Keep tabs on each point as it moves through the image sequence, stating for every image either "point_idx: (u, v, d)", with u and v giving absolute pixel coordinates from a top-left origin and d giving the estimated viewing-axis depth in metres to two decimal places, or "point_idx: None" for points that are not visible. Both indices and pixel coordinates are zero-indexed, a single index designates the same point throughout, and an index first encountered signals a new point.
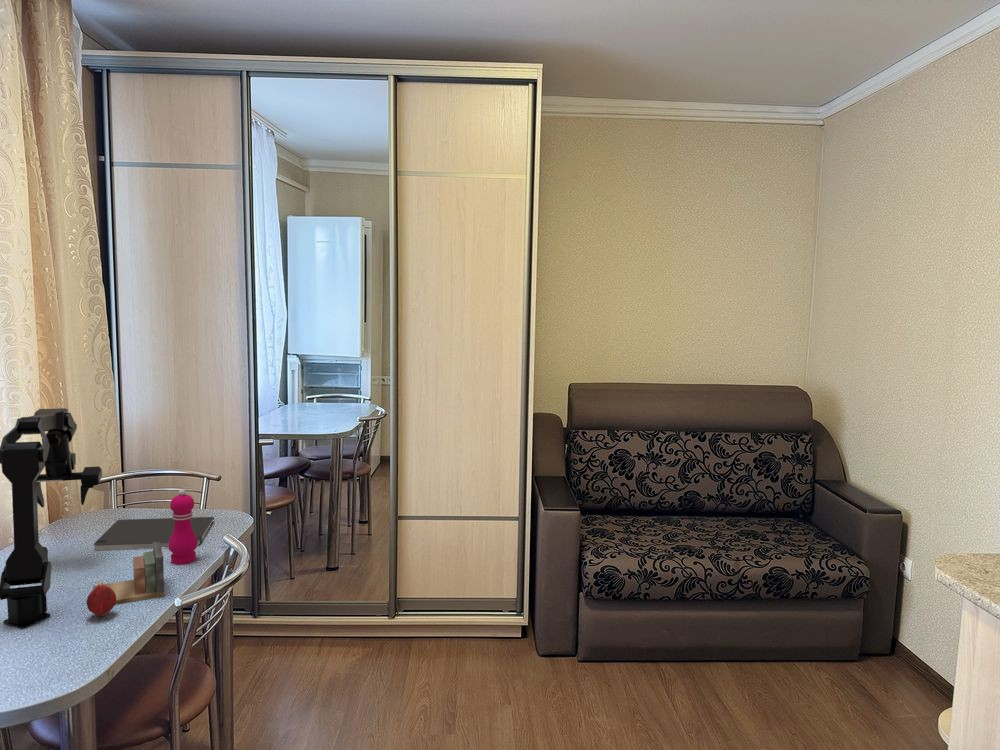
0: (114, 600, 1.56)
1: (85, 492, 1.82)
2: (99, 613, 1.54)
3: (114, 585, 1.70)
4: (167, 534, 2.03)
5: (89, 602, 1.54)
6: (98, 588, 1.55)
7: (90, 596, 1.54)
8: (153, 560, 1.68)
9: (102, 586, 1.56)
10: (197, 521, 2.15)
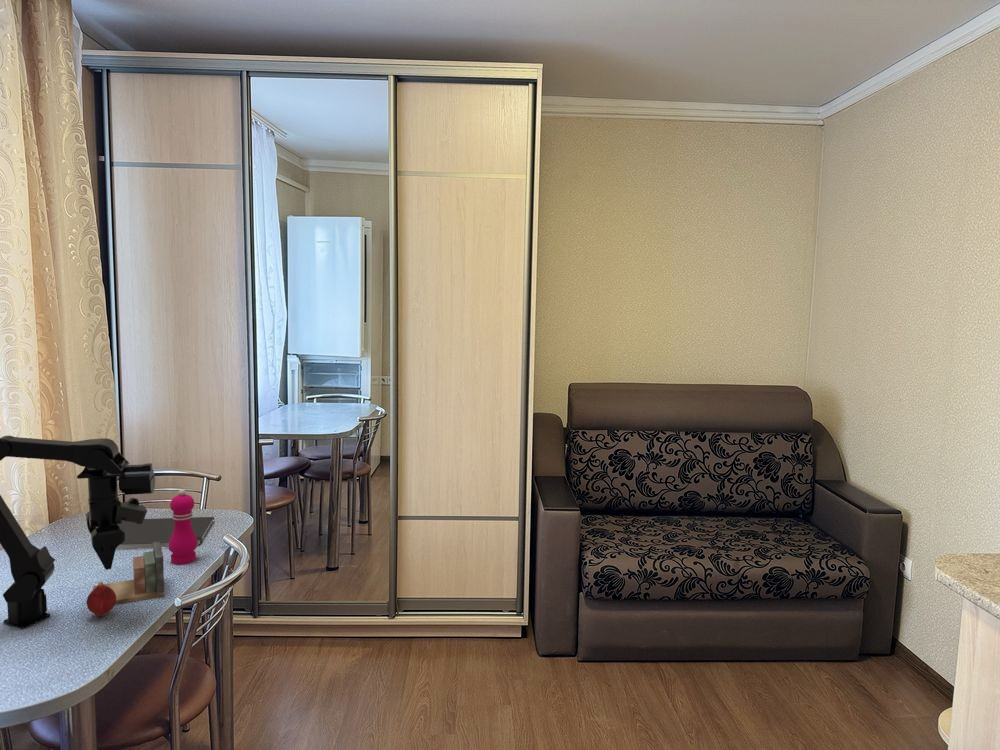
0: (114, 600, 1.56)
1: None
2: (99, 613, 1.54)
3: (114, 585, 1.70)
4: (167, 534, 2.03)
5: (89, 602, 1.54)
6: (98, 588, 1.55)
7: (90, 596, 1.54)
8: (153, 560, 1.68)
9: (102, 586, 1.56)
10: (198, 521, 2.15)
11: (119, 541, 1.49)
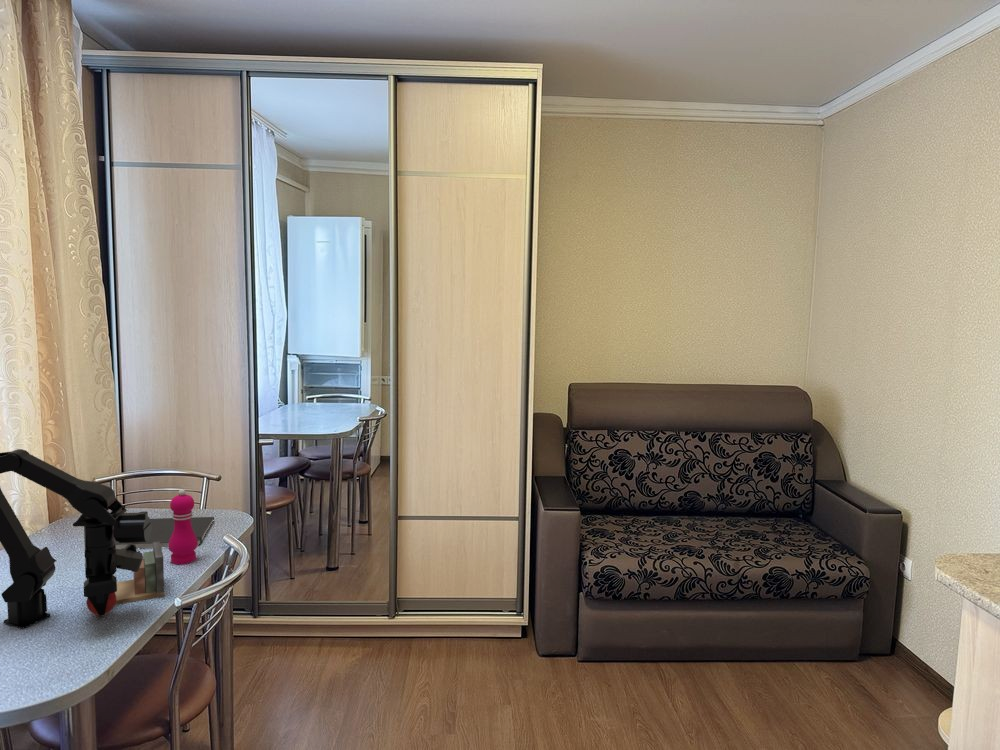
0: (114, 600, 1.56)
1: None
2: None
3: None
4: (167, 534, 2.03)
5: (89, 602, 1.54)
6: None
7: None
8: (153, 560, 1.68)
9: None
10: (198, 521, 2.15)
11: (111, 592, 1.49)
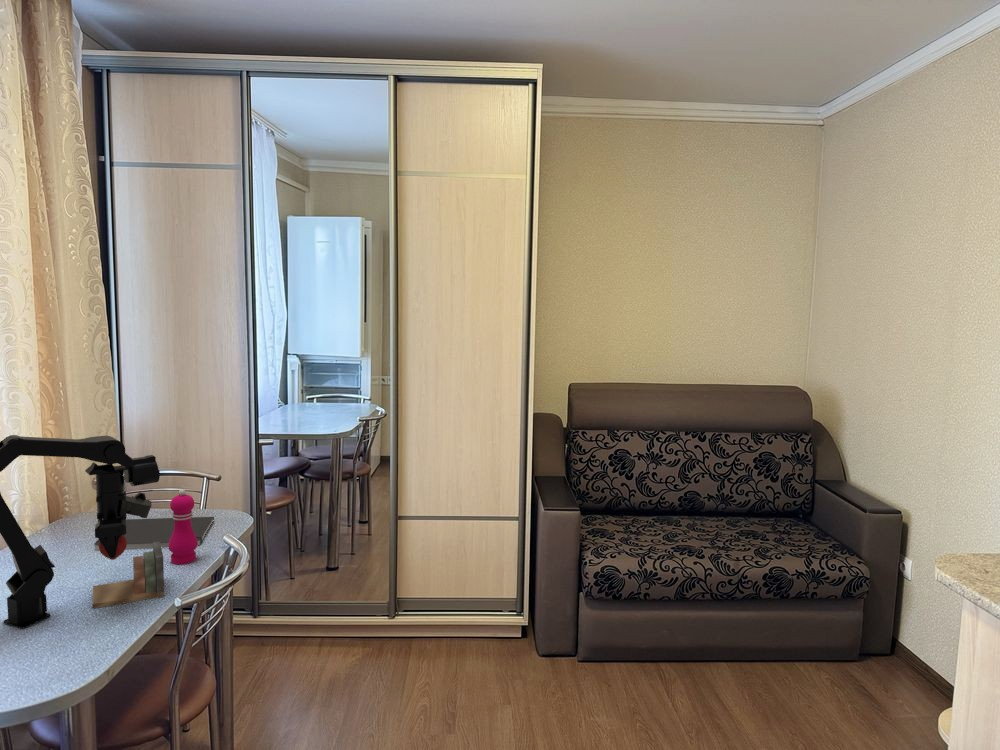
0: (125, 544, 1.64)
1: None
2: None
3: (114, 585, 1.70)
4: (167, 534, 2.03)
5: (101, 545, 1.62)
6: None
7: None
8: (153, 560, 1.68)
9: None
10: (198, 520, 2.15)
11: (120, 534, 1.56)
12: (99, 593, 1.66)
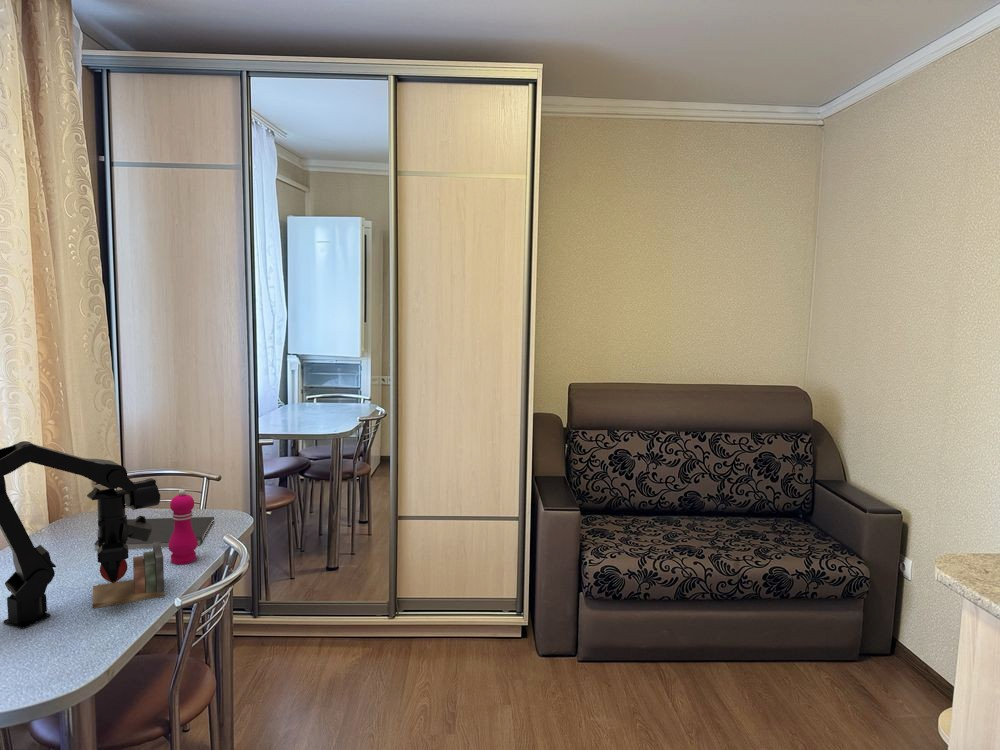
0: (125, 568, 1.66)
1: None
2: None
3: (114, 585, 1.70)
4: (167, 534, 2.03)
5: (102, 569, 1.64)
6: None
7: None
8: (153, 560, 1.68)
9: None
10: (198, 521, 2.15)
11: (123, 558, 1.58)
12: (99, 593, 1.66)
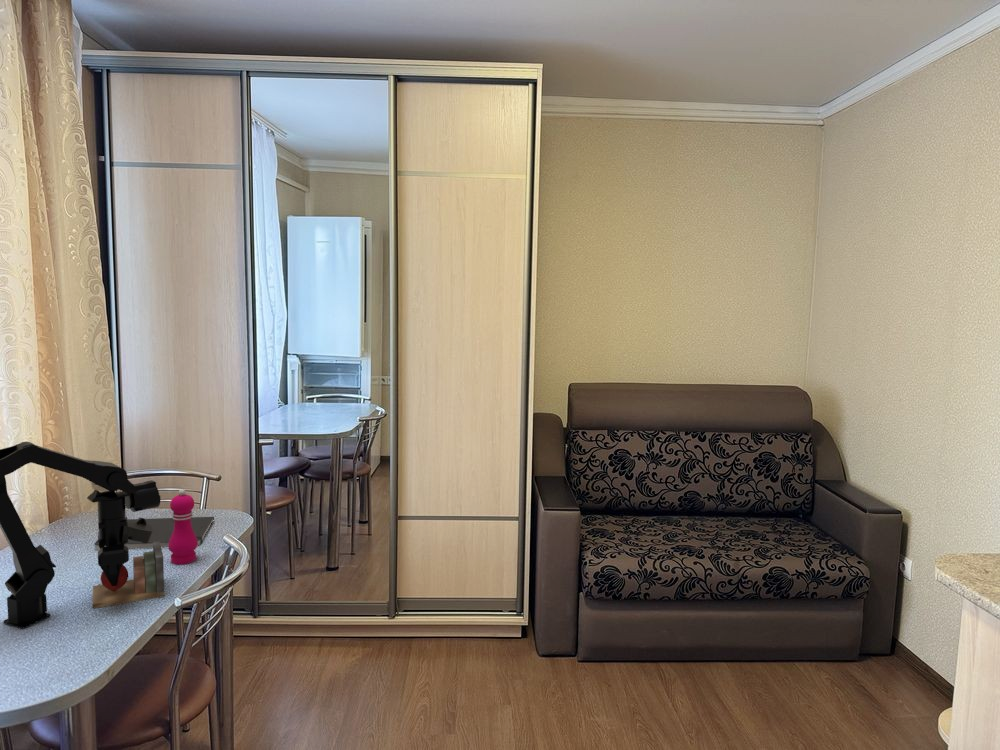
0: (126, 576, 1.67)
1: (102, 569, 1.60)
2: (112, 588, 1.65)
3: None
4: (167, 534, 2.03)
5: (103, 577, 1.64)
6: None
7: None
8: (153, 560, 1.68)
9: None
10: (198, 520, 2.15)
11: (123, 560, 1.59)
12: (99, 593, 1.66)
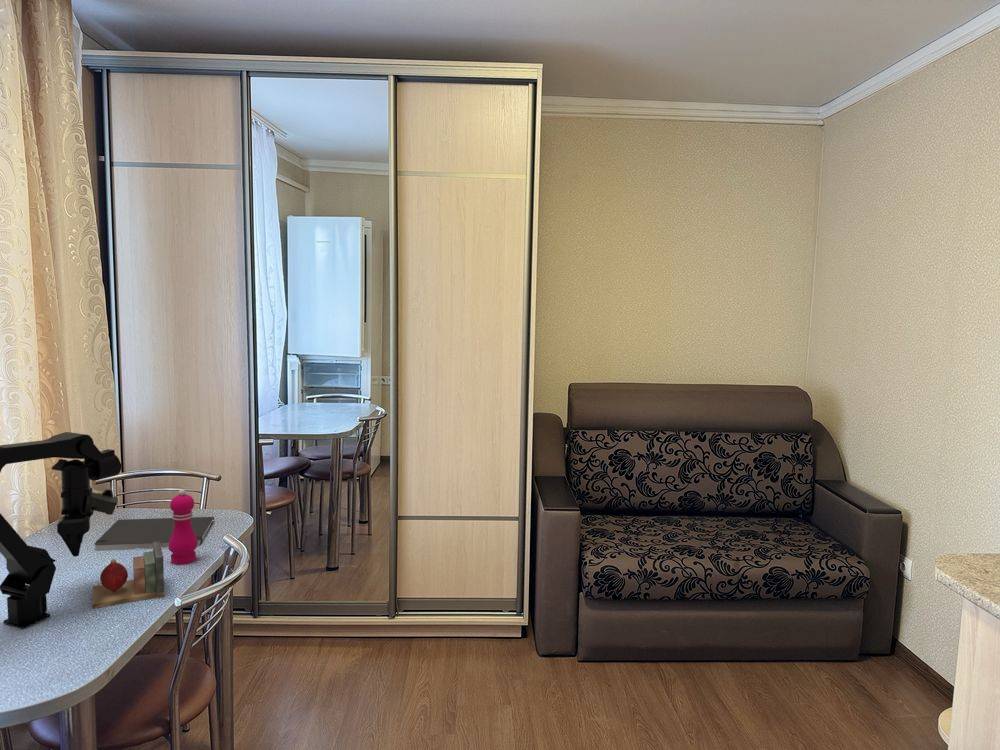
0: (126, 576, 1.67)
1: None
2: (112, 588, 1.65)
3: None
4: (167, 534, 2.03)
5: (102, 578, 1.64)
6: (111, 565, 1.65)
7: (103, 572, 1.64)
8: (153, 560, 1.68)
9: (115, 562, 1.66)
10: (198, 520, 2.15)
11: (83, 529, 1.56)
12: (99, 593, 1.66)
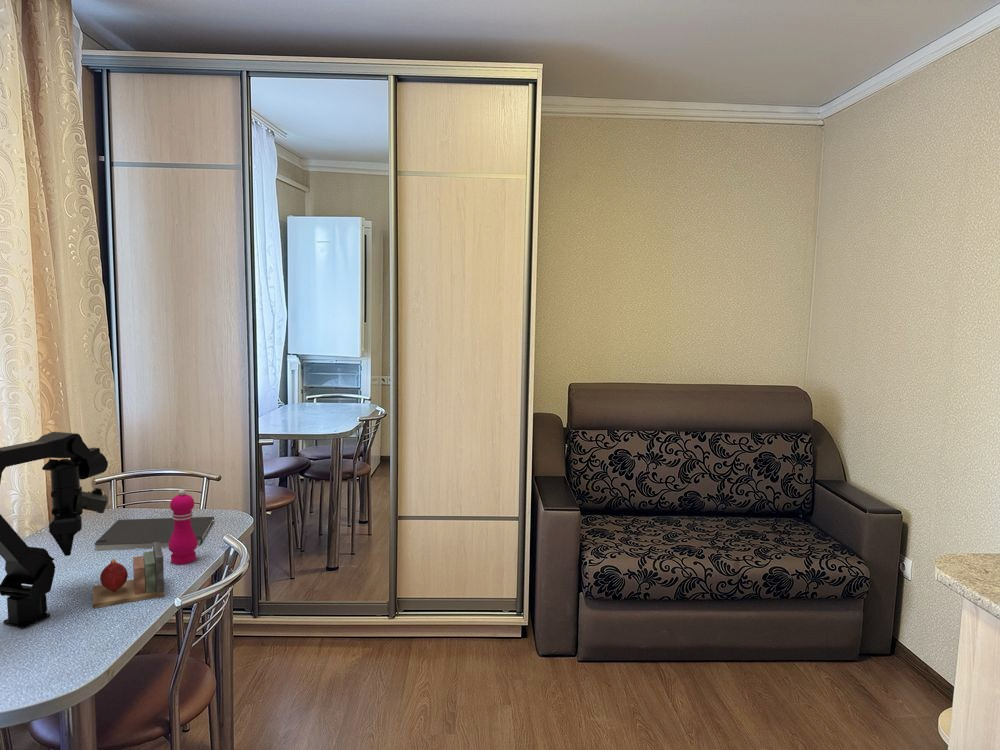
0: (126, 576, 1.67)
1: None
2: (112, 588, 1.65)
3: None
4: (167, 534, 2.03)
5: (102, 578, 1.64)
6: (111, 565, 1.65)
7: (103, 572, 1.64)
8: (153, 560, 1.68)
9: (115, 562, 1.66)
10: (198, 520, 2.15)
11: (75, 529, 1.56)
12: (99, 593, 1.66)
